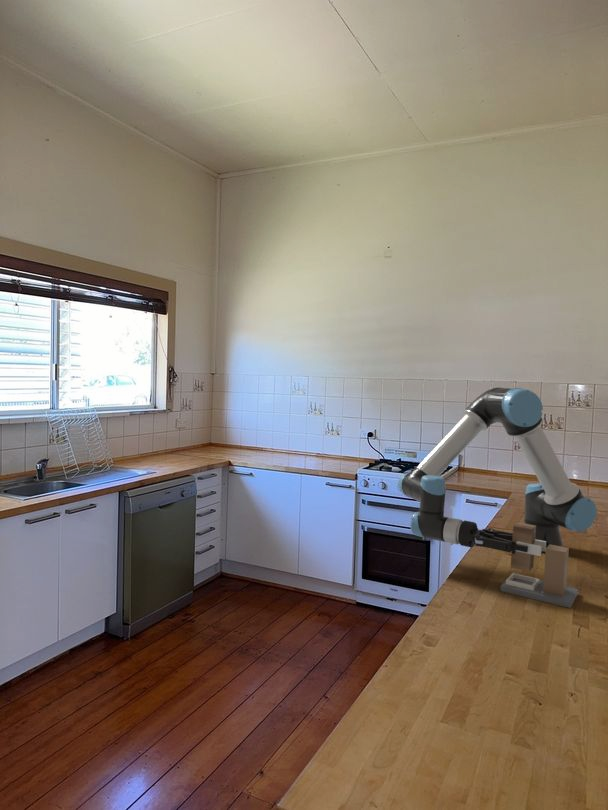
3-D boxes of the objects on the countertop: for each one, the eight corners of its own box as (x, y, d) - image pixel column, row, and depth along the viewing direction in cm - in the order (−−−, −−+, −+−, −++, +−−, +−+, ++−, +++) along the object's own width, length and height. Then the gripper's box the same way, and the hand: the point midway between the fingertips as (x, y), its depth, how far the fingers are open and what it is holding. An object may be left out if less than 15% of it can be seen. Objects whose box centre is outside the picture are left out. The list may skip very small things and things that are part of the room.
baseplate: (511, 579, 167) (514, 534, 166) (577, 594, 157) (580, 546, 156) (500, 591, 157) (503, 543, 156) (570, 608, 147) (573, 557, 146)
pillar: (515, 563, 163) (517, 522, 162) (533, 567, 160) (536, 525, 159) (510, 567, 158) (513, 525, 158) (529, 571, 156) (531, 529, 155)
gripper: (470, 538, 177) (549, 554, 163) (450, 551, 162) (535, 570, 149) (471, 515, 176) (550, 529, 163) (451, 526, 161) (536, 542, 148)
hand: (543, 548), depth 156 cm, fingers closed on pillar, 5 cm apart
